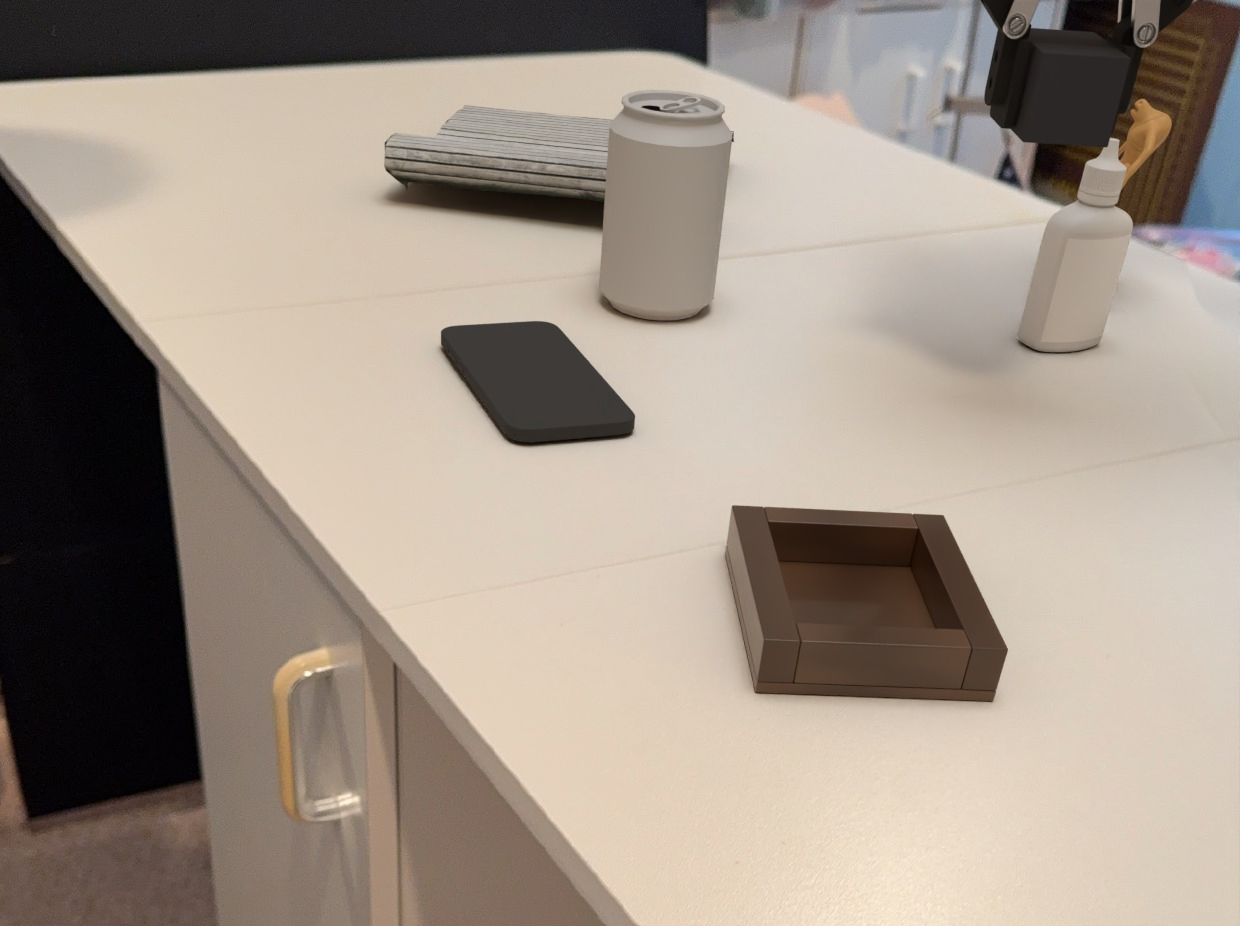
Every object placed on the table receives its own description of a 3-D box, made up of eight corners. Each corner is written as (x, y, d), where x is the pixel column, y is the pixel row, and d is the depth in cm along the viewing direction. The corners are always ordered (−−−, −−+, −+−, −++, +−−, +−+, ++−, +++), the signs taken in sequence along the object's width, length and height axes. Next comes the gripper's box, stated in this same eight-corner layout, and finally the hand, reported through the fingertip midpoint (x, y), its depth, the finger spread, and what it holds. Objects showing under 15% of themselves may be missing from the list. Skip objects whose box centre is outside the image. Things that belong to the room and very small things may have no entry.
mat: (732, 164, 121) (740, 102, 118) (692, 247, 104) (699, 177, 101) (465, 131, 124) (466, 69, 121) (381, 206, 106) (379, 136, 103)
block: (993, 112, 78) (1011, 26, 75) (1073, 117, 78) (1094, 32, 75) (1022, 142, 73) (1043, 52, 70) (1107, 147, 73) (1131, 58, 70)
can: (580, 289, 95) (591, 85, 87) (682, 281, 98) (702, 82, 90) (626, 329, 90) (643, 116, 82) (732, 320, 92) (758, 112, 85)
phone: (510, 431, 75) (434, 326, 85) (509, 447, 75) (434, 340, 86) (643, 421, 77) (553, 319, 88) (641, 436, 78) (552, 333, 88)
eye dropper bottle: (1107, 359, 92) (1169, 153, 84) (1019, 351, 92) (1072, 144, 84) (1094, 335, 95) (1152, 135, 87) (1009, 327, 95) (1060, 126, 87)
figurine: (1036, 262, 106) (1083, 79, 98) (1119, 274, 105) (1173, 90, 98) (1036, 297, 100) (1086, 105, 92) (1124, 310, 99) (1183, 117, 91)
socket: (932, 563, 69) (944, 514, 67) (993, 701, 60) (1009, 649, 58) (724, 554, 68) (731, 504, 67) (755, 692, 59) (764, 639, 57)
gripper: (990, -350, 60) (903, 134, 72) (1383, -318, 61) (1232, 154, 73) (952, -350, 66) (877, 99, 78) (1312, -321, 67) (1184, 118, 78)
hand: (1050, 121), depth 75 cm, fingers closed on block, 4 cm apart
